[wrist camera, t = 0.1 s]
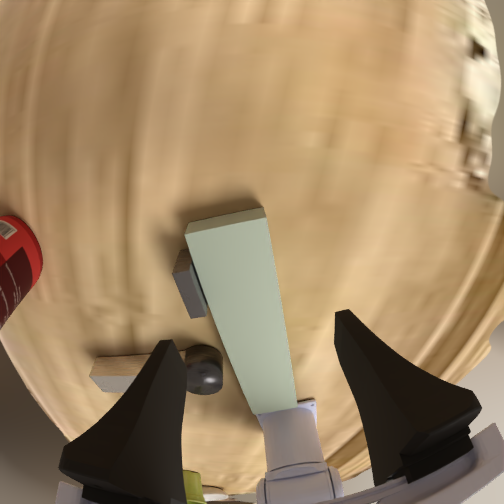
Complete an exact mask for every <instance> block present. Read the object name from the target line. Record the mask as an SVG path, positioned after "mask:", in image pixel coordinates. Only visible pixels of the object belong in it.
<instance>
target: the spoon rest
mask: <svg viewBox="0 0 504 504" xmlns="http://www.w3.org/2000/svg"><path fill="white" fill-rule="evenodd" d="M202 491H203V497H204V498H205V501H215V500H223V499H226V498H228V495H227V494H226V493H225V492H224V491H223V490H221V489H219V488H216V487H211V486H202Z"/></svg>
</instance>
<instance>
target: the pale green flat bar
mask: <svg viewBox="0 0 504 504" xmlns="http://www.w3.org/2000/svg"><path fill="white" fill-rule="evenodd" d="M184 235H185V238H186V241H187V244H188V247H189V251H190V254H191V257H192V259H193V262H194V265H195V268H196V271H197V274H198V277H199V280H200V283H201V285H202V288H203V291H204V294H205V297H206V299H207V302H208V305H209V308H210V310H211V313H212V316H213V318H214V321H215V324H216V326H217V329H218V331H219V334H220V337H221V339H222V342H223V344H224V347H225V349H226V352H227V354H228V357H229V359H230V362H231V364H232V367H233V369H234V371H235V374H236V376H237V379H238V381H239V383H240V386H241V388H242V390H243V393H244V395H245V397H246V399H247V402H248V404H249V406H250V409H251V411H252V413H253V415H254V414H261V413H268V412H274V411H280V410H286V409H291V408H296V407H298V405H297V398H296V391H295V385H294V378H293V371H292V365H291V358H290V352H289V346H288V339H287V333H286V327H285V321H284V315H283V309H282V303H281V297H280V291H279V285H278V279H277V273H276V268H275V262H274V256H273V251H272V245H271V240H270V234H269V229H268V223H267V218H266V214H265V211H264V208H263V207H261V208H256V209H251V210H246V211H241V212H236V213H231V214H227V215H222V216H217V217H213V218H208V219H204V220H199V221H195V222H190V223H188V226H187V229H186V231H185V234H184Z"/></svg>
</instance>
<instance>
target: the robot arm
mask: <svg viewBox="0 0 504 504" xmlns="http://www.w3.org/2000/svg"><path fill="white" fill-rule="evenodd" d="M334 345H335V348H336V352H337V355H338V359H339V362H340V365H341V367H342V370H343V372H344V374H345V377H346V379H347V382H348V384H349V386H350V389H351V391H352V394H353V396H354V398H355V401H356V404H357V406H358V409H359V413H360V416H361V420H362V424H363V428H364V432H365V436H366V441H367V445H368V450H369V455H370V460H371V466H372V472H373V480H374V485H375V487H373V488H371V489H367V490H365V491H361V492H358V493H354V494H351V495H347V496H344V492H343V487H342V482H341V478H340V474H339V472H338V470H337V469H336V468H334V467H333V466H329V467H328V468H327V463H326V462H324V458H323V453H322V449H321V444H320V440H319V435H318V431H317V418H316V400H314V399H312V400H308V401H303V402H298V403H297V405H298V407H296V408H291V409H286V410H280V411H274V412H268V413H261V414H256V416H257V419H258V421H259V423H260V425H261V428H262V430H263V432H264V442H265V452H266V461H267V471H268V472H266V473H265V478H262V479H260V481H259V482H258V483H257V487H256V497H257V504H371V503H374V502H376V501H378V502H377V503H376V504H461V503H463V502H464V501H466V500H467V499H469V498H470V497H471V496H473V495H474V494H476V493H477V492H478V491H480V490H481V489H482V488H483V487H485V486H486V485H488V484H489V483H490V482H491V481H493V480H494V479H495V478H496V477H498V476H499V475H500V474H501V473H503V472H504V440H503V438H502V436H501V434H500V432H499V430H498V428H497V426H496V424H495V423H492V424H491V425H490V426H488V427H487V428H485V429H484V430H482V431H481V432H479V433H478V434H477V435H475V436H474V437H472V438H471V439H470V437H469V435H468V434H469V433H470V432H471V431H470V429H469V426H468V425H469V424H470V423H471V422H472V421H473V420H474V419H475V418H476V417H477V416H478V414H479V413H480V411H481V409H482V407H481V405H480V403H479V401H478V399H477V397H476V396H475V394H474V393H473V391H471V390H468V389H465V388H462V387H459V386H456V385H453V384H451V383H448V382H446V381H444V380H441V379H439V378H437V377H435V376H433V375H431V374H429V373H428V372H426V371H424V370H422V369H420V368H419V367H417V366H415V365H414V364H412V363H411V362H409V361H408V360H406V359H405V358H403V357H402V356H400V355H399V354H398V353H396V352H395V351H394V350H393V349H391V348H390V347H389V346H388V345H386V344H385V343H384V342H383V341H382V340H381V339H379V338H378V337H377V336H376V335H375V334H374V333H373V332H372V331H371V330H370V329H368V328H367V327H366V326H365V325H364V324H363V323H362V322H361V321H360V320H359V319H358V318H357V317H356V316H355V315H354V314H353V313H352V312H351V311H350V310H349V309H347V310H342V311H338V312H335V334H334ZM186 390H187V366H186V365H185V363H184V361H183V359H182V357H181V355H180V354H179V352H178V350H177V348H176V346H175V344H174V342H173V340H172V339H170V340H160V341H159V343H158V344H157V346H156V347H155V349H154V350H153V352H152V353H151V355H150V356H149V358H148V360H147V361H146V363H145V364H144V366H143V367H142V369H141V370H140V372H139V373H138V375H137V376H136V378H135V379H134V381H133V382H132V383H131V385H130V386H129V387H128V389H127V390H126V392H125V393H124V394H123V395H122V397H121V398H120V399H119V400H118V401H117V402H116V404H115V405H114V406H113V407H112V408H111V409H110V410H109V411H108V412H107V413H106V414H105V415H104V416H103V417H102V418H101V419H100V420H99V421H98V422H97V423H96V424H94V425H93V426H92V427H91V428H90V429H88V430H87V431H86V432H85V433H83V434H82V435H81V436H79V437H78V438H76V439H75V440H73V441H72V442H70V443H68V444H67V445H65V446H64V448H63V452H62V455H61V459H60V463H59V470H60V471H61V472H62V473H64V474H65V475H67V476H69V477H70V478H72V479H74V480H76V481H78V482H80V483H81V484H83V485H84V486H83V489H81V488H79V487H76V486H73V485H71V484H67V483H65V482H62V481H60V482H59V487H58V492H57V497H56V503H55V504H187V499H186V493H185V486H184V478H183V468H182V449H181V433H182V422H183V414H184V406H185V398H186ZM379 500H380V501H379Z"/></svg>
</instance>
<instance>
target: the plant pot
mask: <svg viewBox="0 0 504 504" xmlns="http://www.w3.org/2000/svg"><path fill="white" fill-rule="evenodd" d="M183 478H184V486H185V493H186V499H187V504H207V503H205V498H204V497H203V491H202V484H201V477H200V474H199V473H197V472H195V473H193V472H191V471H188V470H183Z"/></svg>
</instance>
